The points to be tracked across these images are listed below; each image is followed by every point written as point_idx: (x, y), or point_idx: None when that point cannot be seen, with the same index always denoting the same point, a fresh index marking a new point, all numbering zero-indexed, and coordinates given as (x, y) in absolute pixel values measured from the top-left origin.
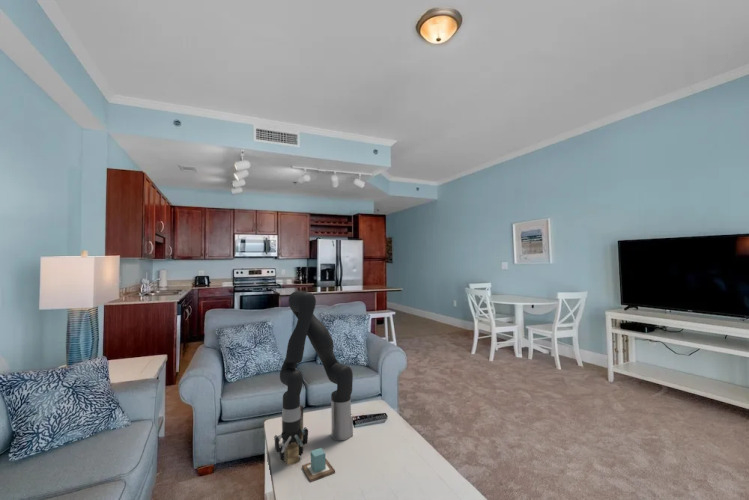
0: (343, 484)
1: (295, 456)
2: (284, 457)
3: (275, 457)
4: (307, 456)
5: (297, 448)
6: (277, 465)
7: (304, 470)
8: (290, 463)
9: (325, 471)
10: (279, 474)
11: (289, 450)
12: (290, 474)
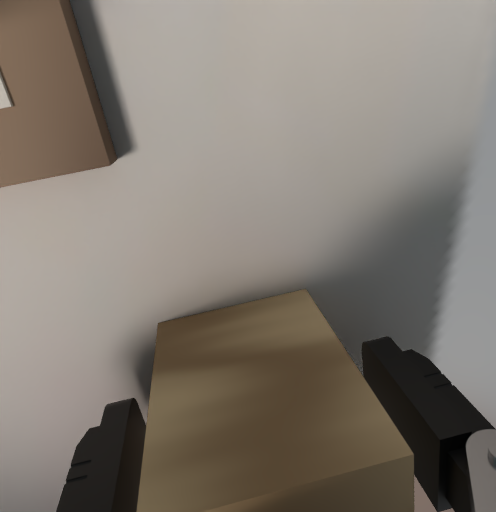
0: None
1: (209, 370)
2: (389, 373)
3: None
4: (30, 406)
5: (168, 499)
6: (418, 325)
7: (64, 4)
8: (276, 304)
9: None
10: (448, 126)
11: (370, 456)
12: (310, 56)
